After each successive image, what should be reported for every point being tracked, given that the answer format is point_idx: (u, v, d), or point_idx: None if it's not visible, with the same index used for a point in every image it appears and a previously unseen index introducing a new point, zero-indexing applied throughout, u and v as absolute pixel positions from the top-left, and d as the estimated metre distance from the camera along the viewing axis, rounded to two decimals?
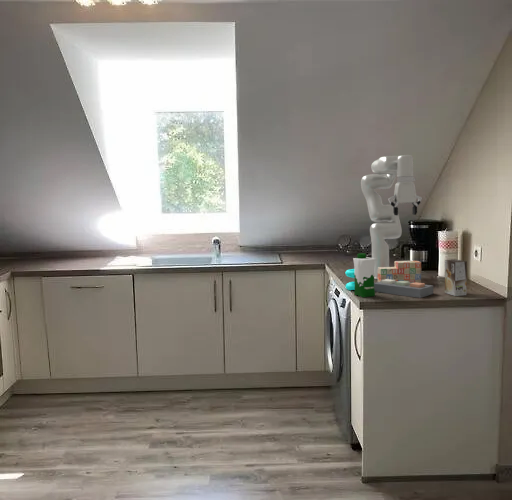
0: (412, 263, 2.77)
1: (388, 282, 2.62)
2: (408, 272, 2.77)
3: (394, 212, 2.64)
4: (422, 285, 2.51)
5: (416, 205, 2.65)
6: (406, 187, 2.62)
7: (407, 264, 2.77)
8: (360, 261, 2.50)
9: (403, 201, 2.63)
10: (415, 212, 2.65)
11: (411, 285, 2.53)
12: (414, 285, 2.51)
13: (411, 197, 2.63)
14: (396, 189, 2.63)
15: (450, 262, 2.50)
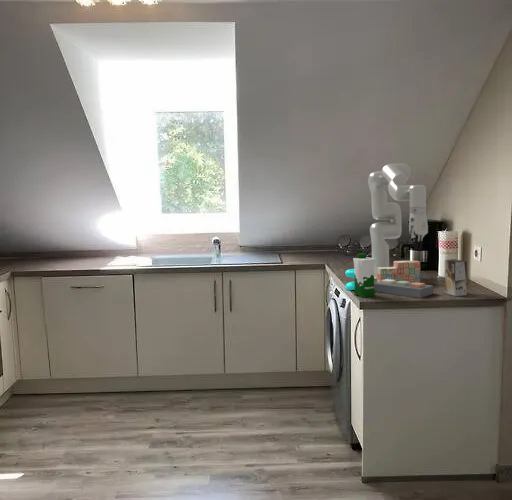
0: (411, 263, 2.77)
1: (388, 282, 2.62)
2: (408, 272, 2.78)
3: None
4: (422, 285, 2.51)
5: (414, 239, 2.55)
6: None
7: (406, 264, 2.77)
8: (360, 261, 2.50)
9: None
10: None
11: (411, 285, 2.53)
12: (414, 285, 2.51)
13: None
14: None
15: (450, 263, 2.50)
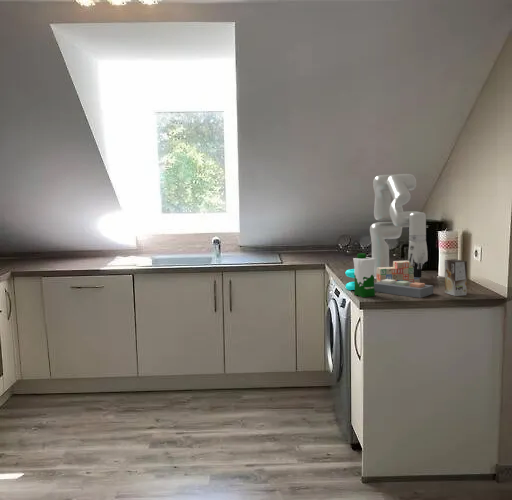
0: None
1: (388, 282, 2.62)
2: (407, 272, 2.78)
3: None
4: (422, 285, 2.51)
5: None
6: None
7: (406, 264, 2.78)
8: (360, 261, 2.50)
9: None
10: (414, 274, 2.53)
11: (411, 285, 2.53)
12: (414, 285, 2.51)
13: None
14: None
15: (450, 262, 2.50)
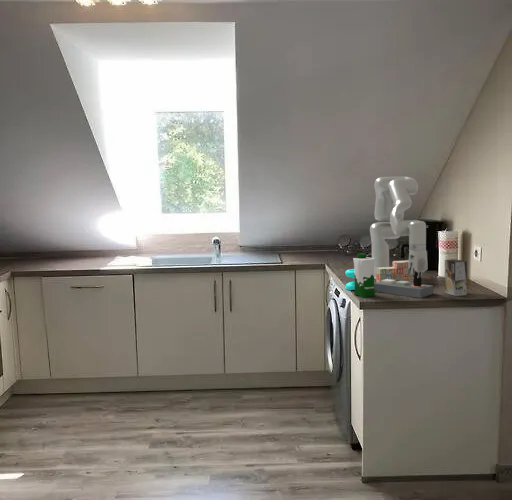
0: None
1: (388, 282, 2.62)
2: (407, 272, 2.78)
3: None
4: None
5: None
6: None
7: (406, 264, 2.78)
8: (360, 261, 2.50)
9: None
10: (414, 283, 2.54)
11: None
12: None
13: None
14: None
15: (450, 263, 2.50)
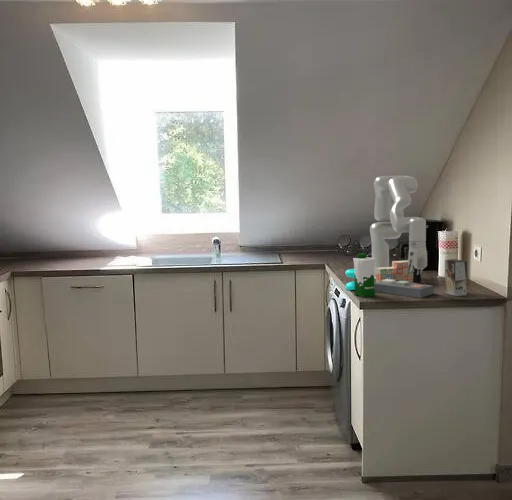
0: None
1: (388, 282, 2.62)
2: (407, 272, 2.78)
3: None
4: None
5: None
6: None
7: (405, 264, 2.78)
8: (360, 261, 2.50)
9: None
10: None
11: None
12: None
13: None
14: None
15: (450, 262, 2.50)
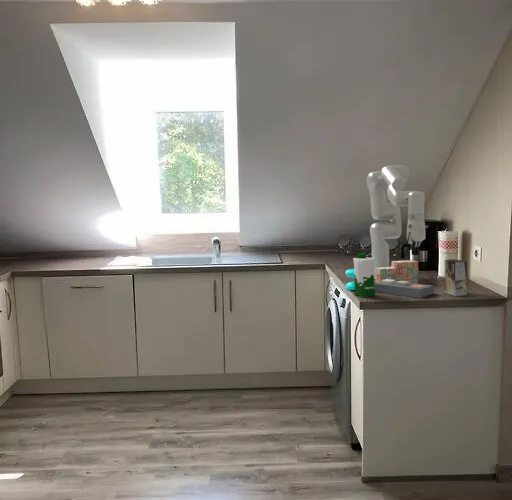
0: (410, 263, 2.78)
1: (388, 282, 2.62)
2: (406, 272, 2.79)
3: None
4: None
5: None
6: None
7: (405, 264, 2.78)
8: (360, 261, 2.50)
9: None
10: (412, 252, 2.61)
11: None
12: None
13: None
14: None
15: (450, 263, 2.50)
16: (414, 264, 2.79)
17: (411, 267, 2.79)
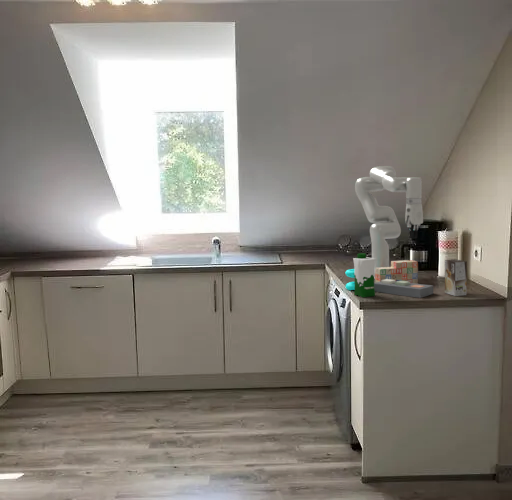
0: (409, 263, 2.79)
1: (388, 282, 2.62)
2: (406, 271, 2.79)
3: None
4: None
5: None
6: None
7: (405, 264, 2.78)
8: (360, 261, 2.50)
9: None
10: None
11: None
12: None
13: None
14: None
15: (450, 263, 2.50)
16: (414, 264, 2.79)
17: (411, 267, 2.79)
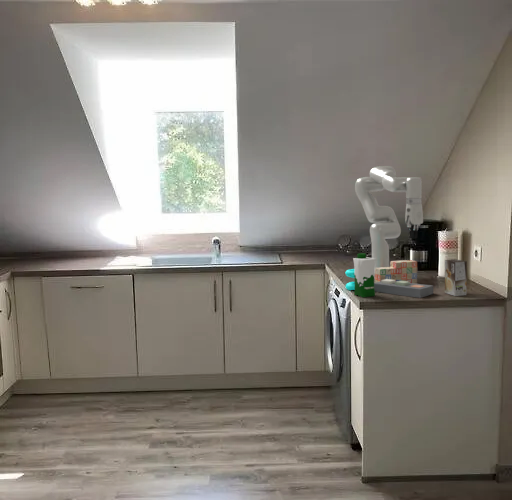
0: (409, 262, 2.79)
1: (388, 282, 2.62)
2: (405, 271, 2.79)
3: None
4: None
5: None
6: None
7: (404, 264, 2.79)
8: (360, 261, 2.50)
9: None
10: None
11: None
12: None
13: None
14: None
15: (450, 262, 2.50)
16: (413, 264, 2.80)
17: (410, 267, 2.79)
